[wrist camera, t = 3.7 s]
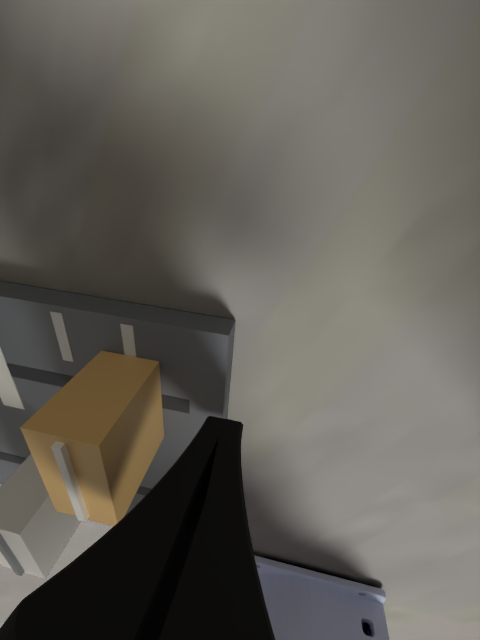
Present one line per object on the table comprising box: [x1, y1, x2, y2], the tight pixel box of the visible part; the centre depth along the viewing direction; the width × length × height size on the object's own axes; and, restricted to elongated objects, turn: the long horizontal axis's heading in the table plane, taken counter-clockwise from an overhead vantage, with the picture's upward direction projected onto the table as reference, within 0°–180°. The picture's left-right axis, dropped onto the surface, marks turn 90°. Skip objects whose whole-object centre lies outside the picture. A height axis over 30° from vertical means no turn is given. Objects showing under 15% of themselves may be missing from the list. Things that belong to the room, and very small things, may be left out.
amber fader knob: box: [20, 351, 164, 526], centre depth 11 cm, size 2×4×4 cm, turn 175°
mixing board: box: [0, 281, 235, 515], centre depth 16 cm, size 16×15×1 cm
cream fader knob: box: [0, 454, 81, 579], centre depth 15 cm, size 2×4×4 cm, turn 175°
